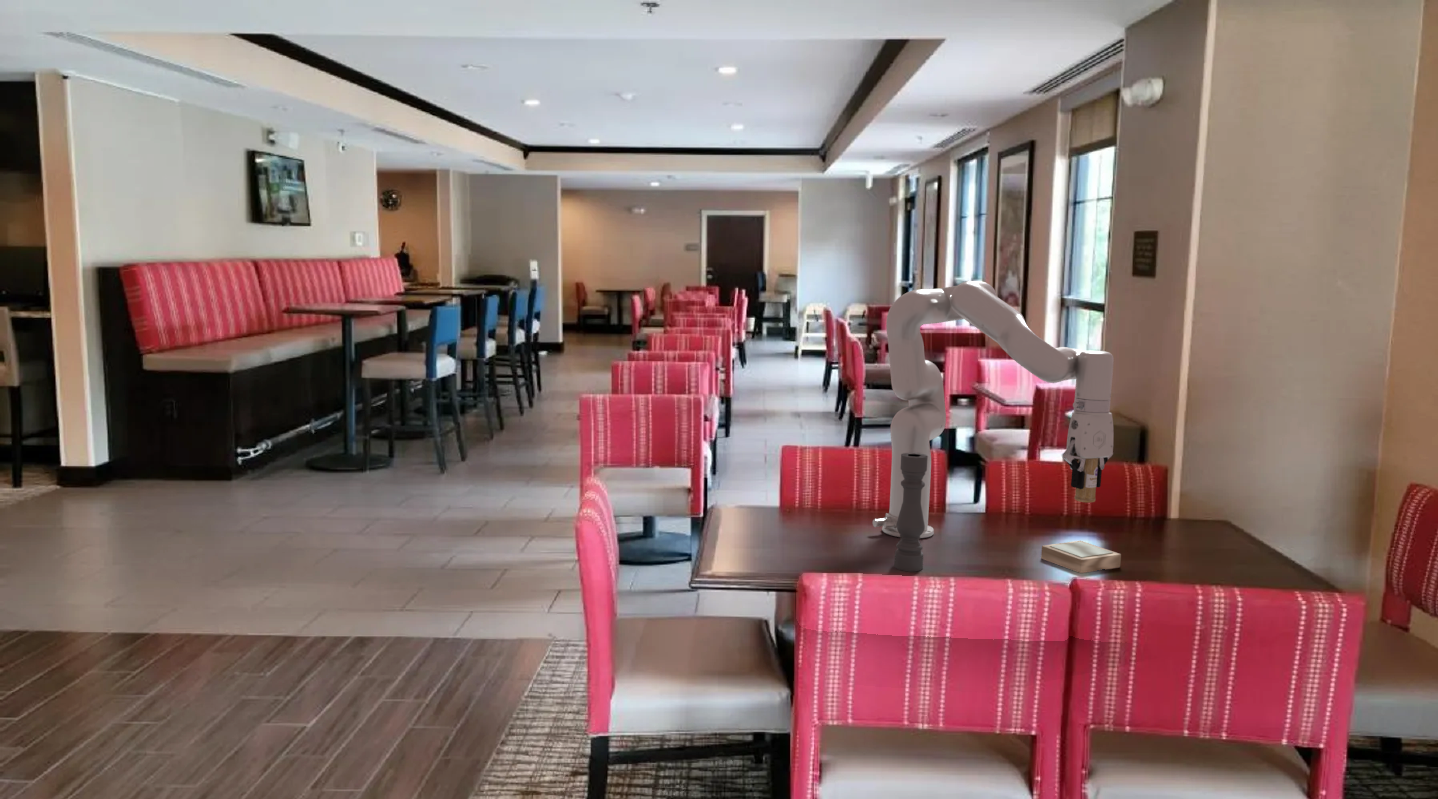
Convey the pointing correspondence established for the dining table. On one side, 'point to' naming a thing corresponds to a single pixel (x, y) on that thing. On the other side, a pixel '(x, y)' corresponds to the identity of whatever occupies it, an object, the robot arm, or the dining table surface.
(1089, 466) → the sprinkles bottle
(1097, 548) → the tray
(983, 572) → the dining table surface
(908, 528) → the candle holder
